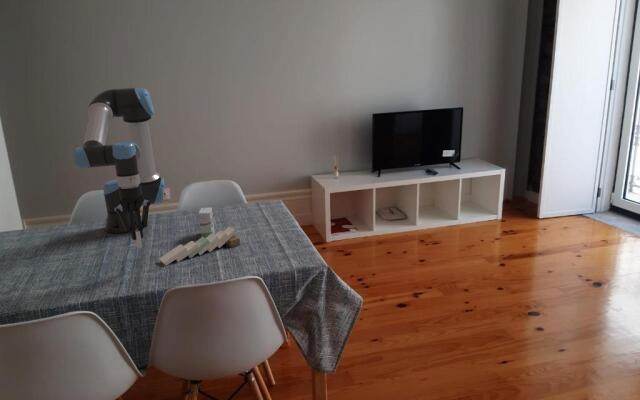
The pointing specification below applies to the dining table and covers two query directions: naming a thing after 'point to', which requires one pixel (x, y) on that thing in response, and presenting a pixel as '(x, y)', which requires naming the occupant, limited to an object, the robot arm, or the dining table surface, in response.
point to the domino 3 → (201, 243)
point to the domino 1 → (173, 254)
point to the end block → (233, 241)
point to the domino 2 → (190, 247)
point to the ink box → (206, 222)
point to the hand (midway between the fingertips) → (138, 247)
